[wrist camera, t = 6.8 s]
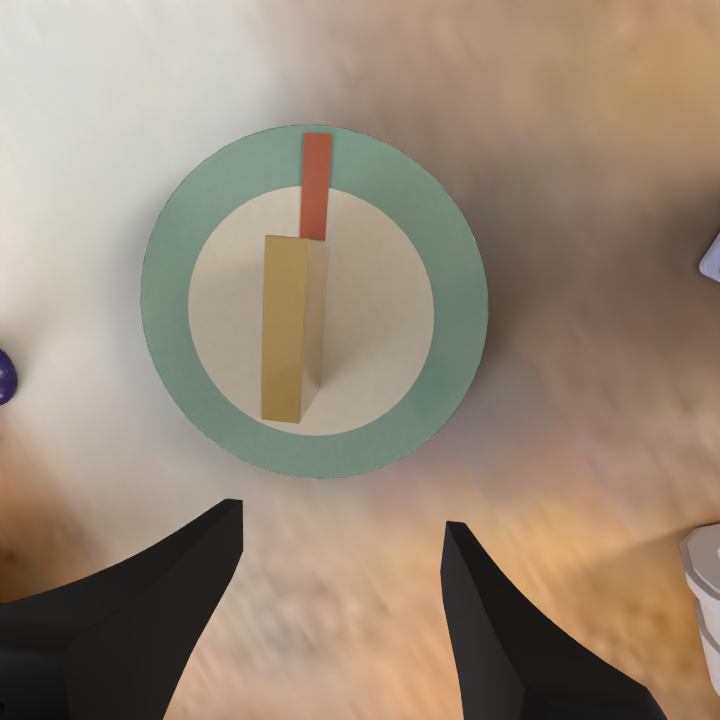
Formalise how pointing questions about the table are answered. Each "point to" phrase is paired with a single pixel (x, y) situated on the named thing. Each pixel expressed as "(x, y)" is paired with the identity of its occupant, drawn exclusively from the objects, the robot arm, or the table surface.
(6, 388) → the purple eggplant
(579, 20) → the table surface
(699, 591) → the folded white towel
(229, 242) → the dial knob
